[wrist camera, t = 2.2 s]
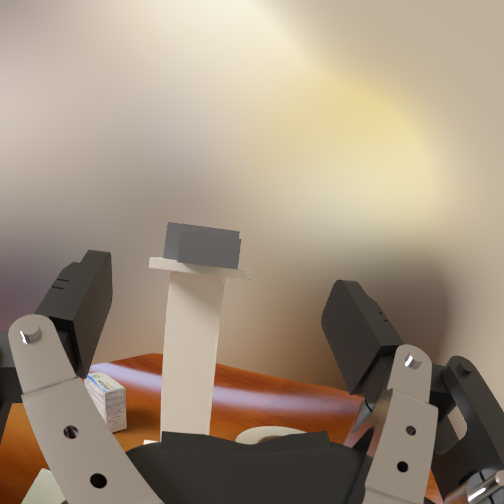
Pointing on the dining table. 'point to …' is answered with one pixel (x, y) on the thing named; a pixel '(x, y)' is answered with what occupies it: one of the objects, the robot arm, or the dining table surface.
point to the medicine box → (108, 399)
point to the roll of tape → (264, 434)
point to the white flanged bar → (191, 343)
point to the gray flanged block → (202, 245)
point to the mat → (44, 490)
